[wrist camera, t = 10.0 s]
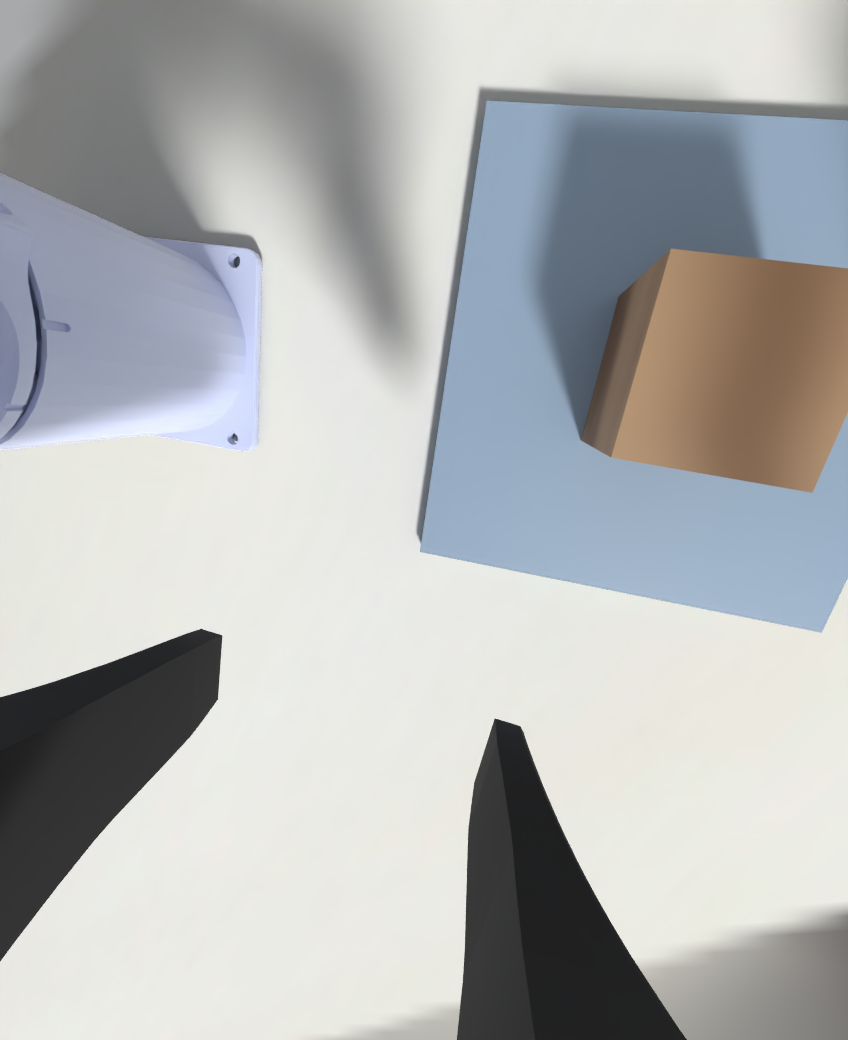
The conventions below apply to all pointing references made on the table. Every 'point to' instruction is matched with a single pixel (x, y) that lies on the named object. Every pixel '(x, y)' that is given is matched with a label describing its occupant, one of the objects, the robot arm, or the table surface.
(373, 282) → the table surface
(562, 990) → the robot arm
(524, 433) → the slate board
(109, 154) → the table surface
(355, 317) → the table surface
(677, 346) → the walnut cube
